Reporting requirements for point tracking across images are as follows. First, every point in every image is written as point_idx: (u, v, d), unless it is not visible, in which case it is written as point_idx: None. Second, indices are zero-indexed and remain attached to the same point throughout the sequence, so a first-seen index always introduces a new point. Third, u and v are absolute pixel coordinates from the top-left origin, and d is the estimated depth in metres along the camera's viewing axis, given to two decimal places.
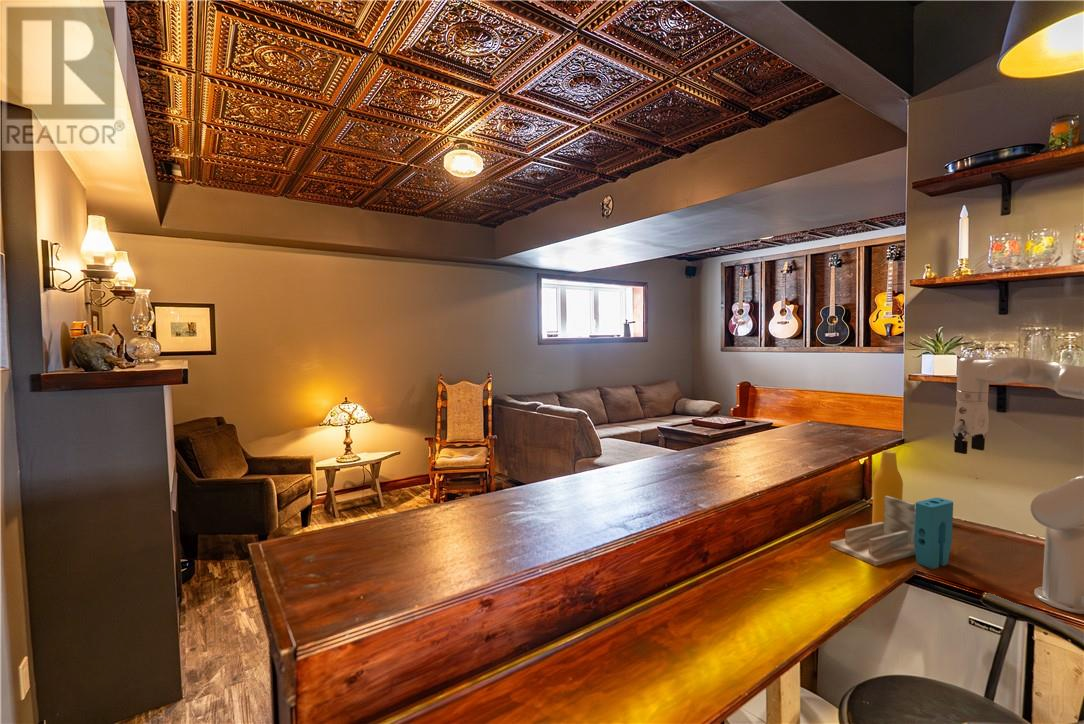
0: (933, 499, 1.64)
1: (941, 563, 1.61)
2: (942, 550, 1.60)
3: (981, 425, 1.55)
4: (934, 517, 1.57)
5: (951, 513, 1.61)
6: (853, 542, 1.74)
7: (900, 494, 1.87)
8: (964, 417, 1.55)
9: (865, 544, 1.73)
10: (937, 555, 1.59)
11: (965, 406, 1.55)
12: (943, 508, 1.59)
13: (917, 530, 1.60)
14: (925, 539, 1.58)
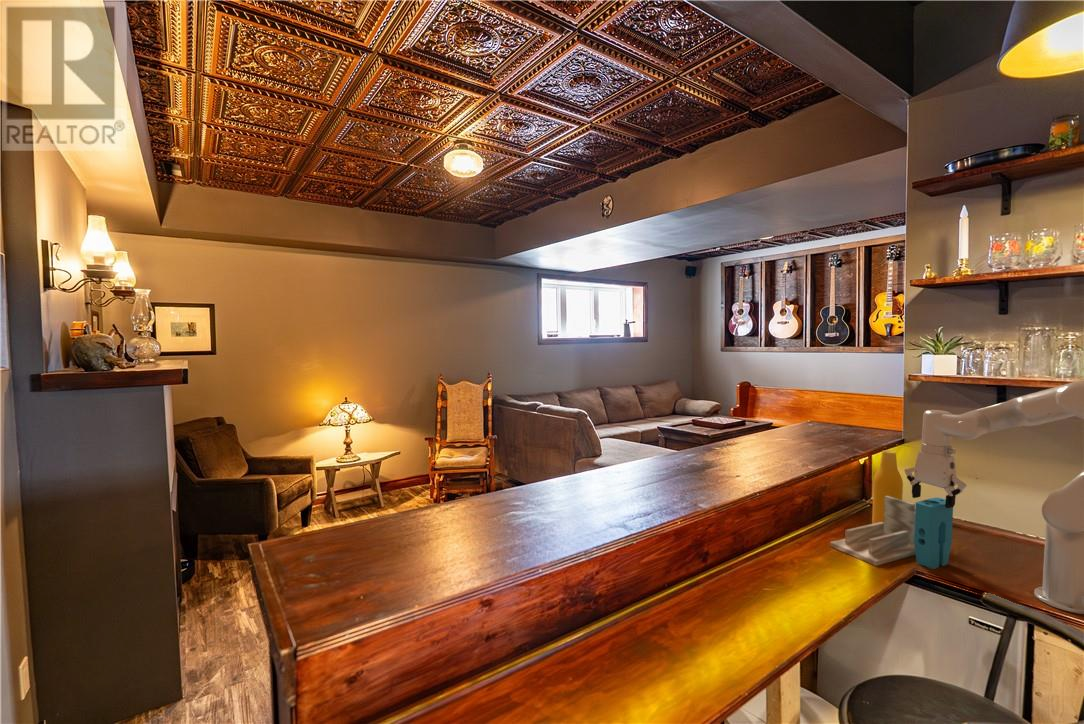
0: (933, 499, 1.64)
1: (941, 563, 1.61)
2: (942, 550, 1.60)
3: None
4: (934, 517, 1.57)
5: (951, 513, 1.61)
6: (853, 542, 1.74)
7: (900, 494, 1.87)
8: (953, 471, 1.56)
9: (865, 544, 1.73)
10: (937, 555, 1.59)
11: (953, 460, 1.56)
12: (943, 508, 1.59)
13: (917, 530, 1.60)
14: (925, 539, 1.58)
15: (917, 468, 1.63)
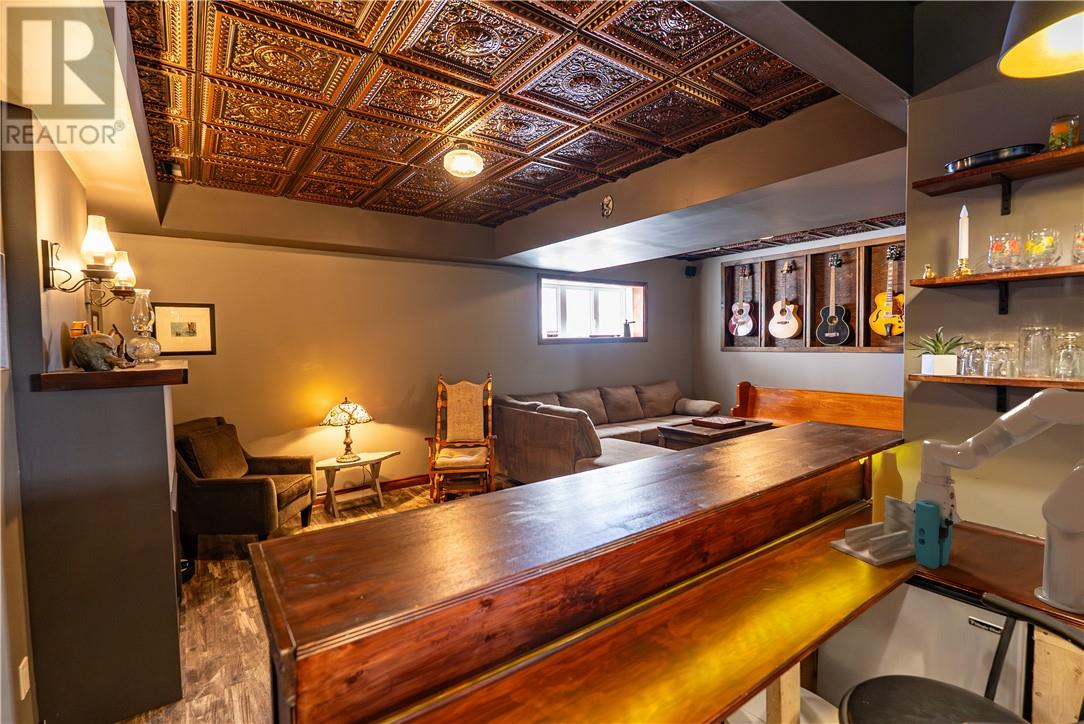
0: None
1: (941, 563, 1.61)
2: (942, 550, 1.60)
3: None
4: (934, 517, 1.57)
5: None
6: (853, 542, 1.74)
7: (900, 494, 1.87)
8: (953, 501, 1.57)
9: (865, 544, 1.73)
10: (937, 555, 1.59)
11: (952, 491, 1.57)
12: None
13: (917, 530, 1.60)
14: (925, 539, 1.58)
15: (917, 498, 1.64)
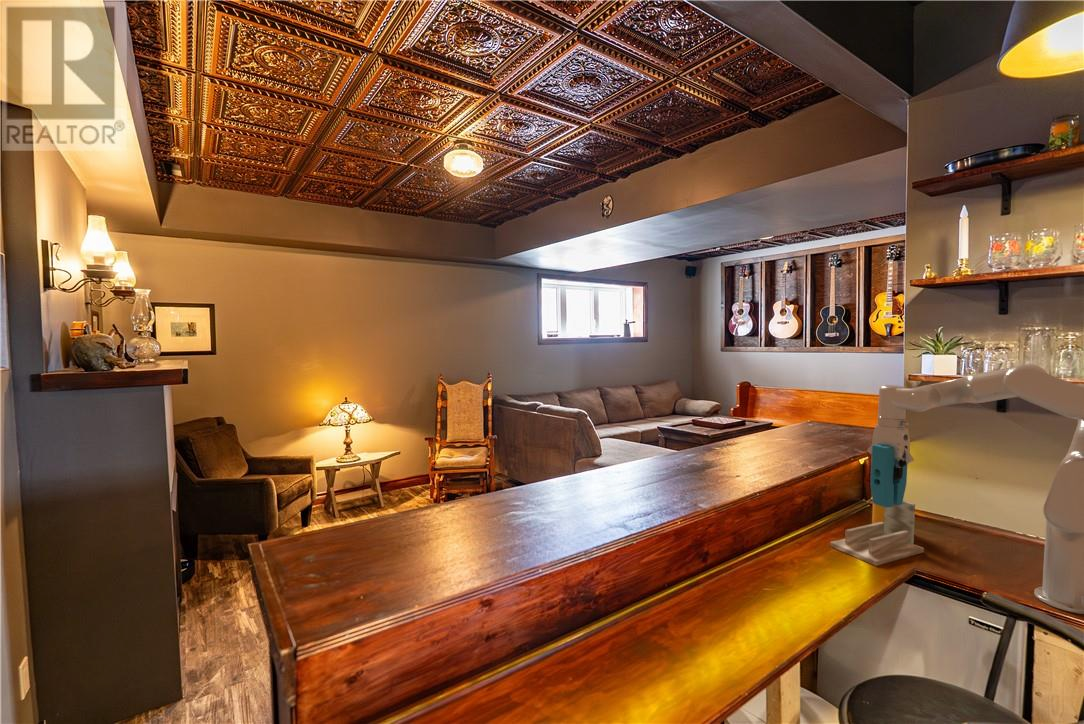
0: None
1: (896, 503, 1.68)
2: (897, 490, 1.68)
3: None
4: (888, 458, 1.65)
5: None
6: (853, 542, 1.74)
7: None
8: (907, 443, 1.64)
9: (865, 544, 1.73)
10: (891, 494, 1.67)
11: (906, 432, 1.64)
12: None
13: (873, 470, 1.68)
14: (880, 479, 1.66)
15: (874, 441, 1.71)
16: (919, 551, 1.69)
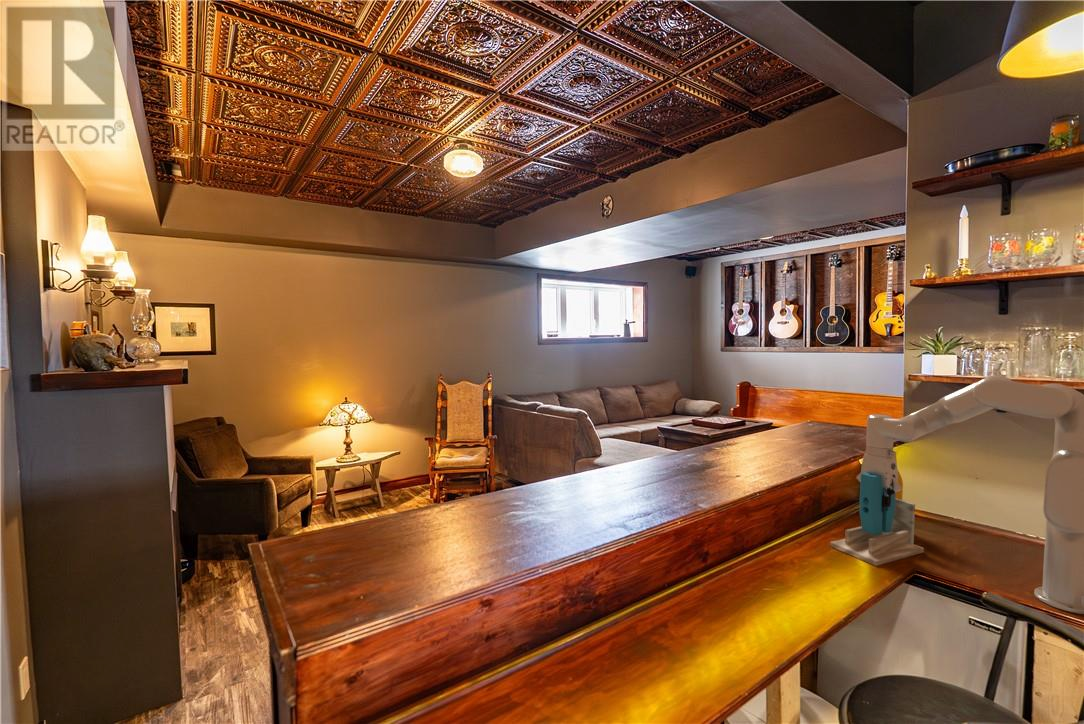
0: None
1: (884, 530, 1.71)
2: (885, 518, 1.71)
3: None
4: (877, 486, 1.68)
5: None
6: (853, 542, 1.74)
7: (900, 494, 1.87)
8: (895, 472, 1.67)
9: (865, 544, 1.73)
10: (880, 522, 1.69)
11: (894, 462, 1.67)
12: None
13: (862, 499, 1.70)
14: (869, 507, 1.69)
15: (863, 470, 1.74)
16: (919, 551, 1.69)
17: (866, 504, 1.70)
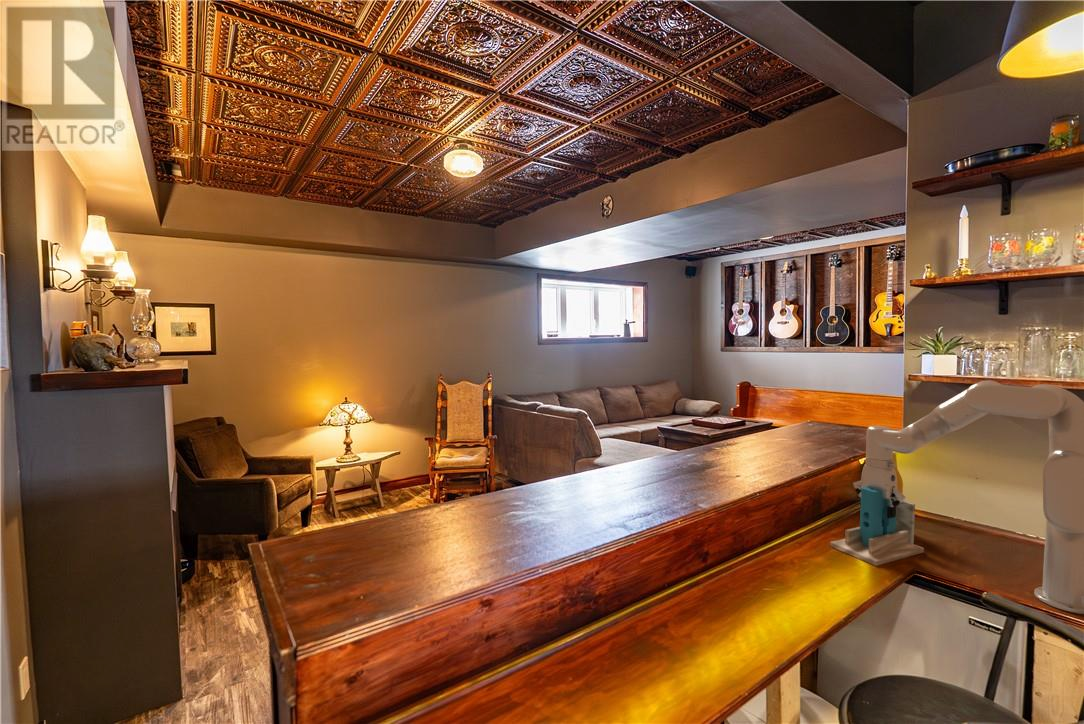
0: None
1: None
2: (886, 532, 1.71)
3: None
4: (877, 501, 1.68)
5: (895, 498, 1.71)
6: (853, 542, 1.74)
7: None
8: (894, 484, 1.67)
9: None
10: None
11: (893, 473, 1.67)
12: None
13: (863, 513, 1.71)
14: (869, 522, 1.69)
15: (863, 481, 1.74)
16: (919, 551, 1.69)
17: (866, 519, 1.70)
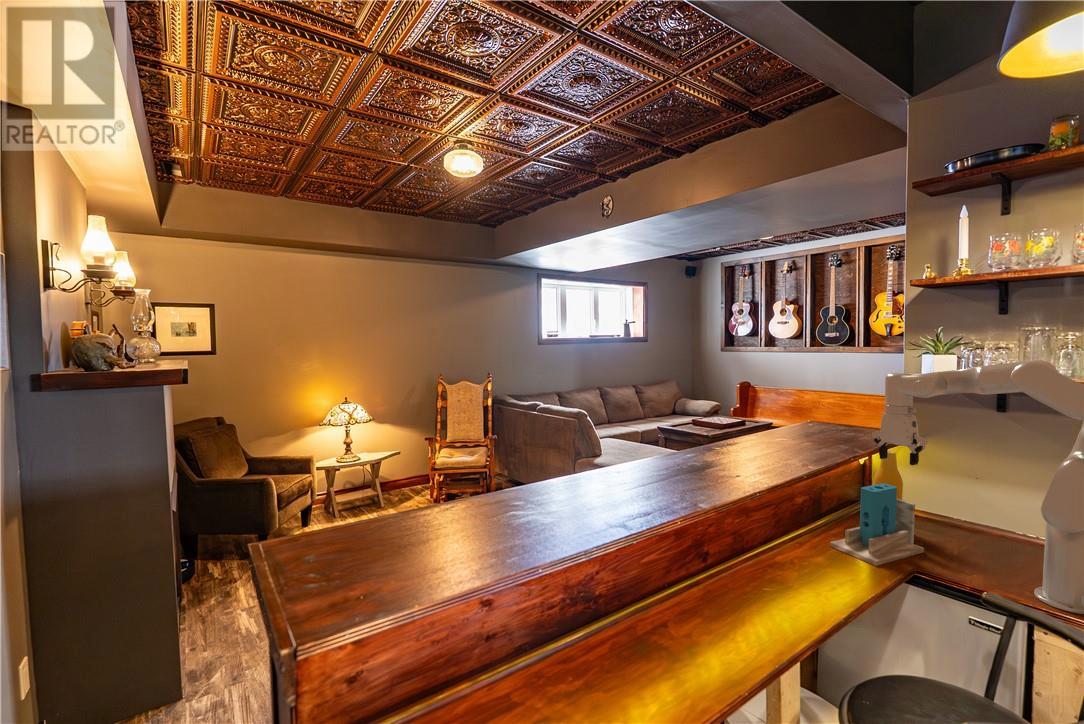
0: (878, 484, 1.74)
1: None
2: (886, 532, 1.71)
3: None
4: (877, 501, 1.68)
5: (895, 498, 1.71)
6: (853, 542, 1.74)
7: (900, 494, 1.87)
8: (915, 430, 1.64)
9: None
10: None
11: (914, 419, 1.64)
12: (886, 493, 1.69)
13: (862, 513, 1.71)
14: (869, 522, 1.69)
15: (882, 430, 1.71)
16: (919, 551, 1.69)
17: (866, 519, 1.70)
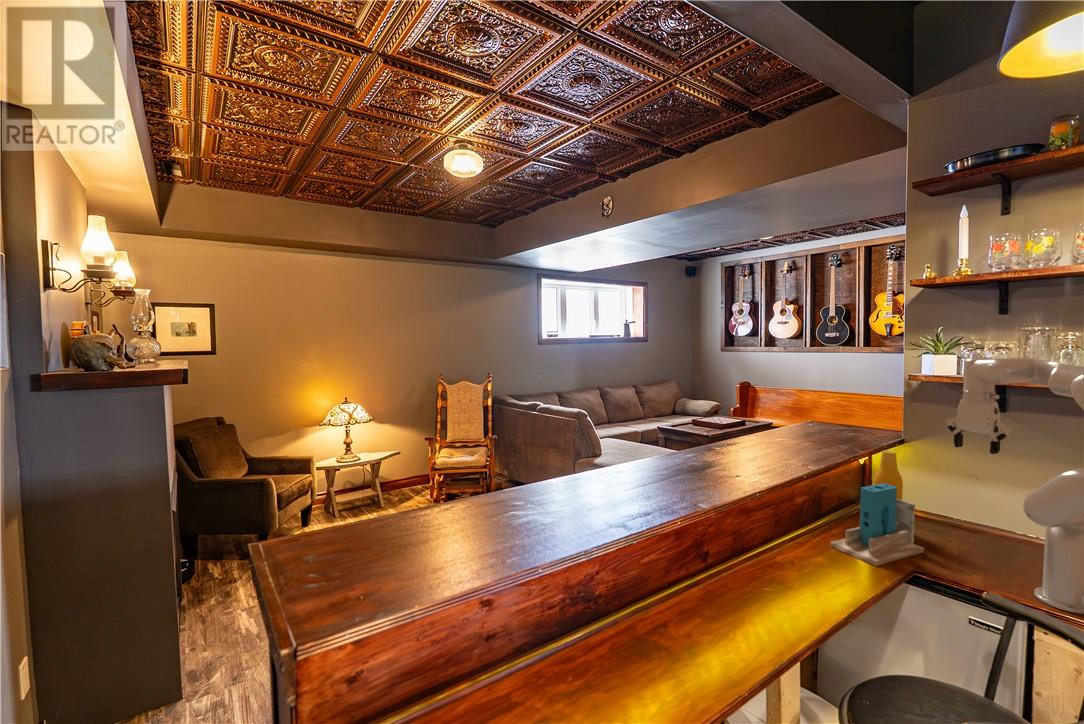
0: (878, 484, 1.74)
1: None
2: (886, 532, 1.71)
3: None
4: (877, 501, 1.68)
5: (895, 498, 1.71)
6: (853, 542, 1.74)
7: (900, 494, 1.87)
8: (997, 417, 1.56)
9: None
10: None
11: (996, 406, 1.56)
12: (886, 493, 1.69)
13: (862, 513, 1.71)
14: (869, 522, 1.69)
15: (959, 417, 1.63)
16: (919, 551, 1.69)
17: (866, 519, 1.70)
